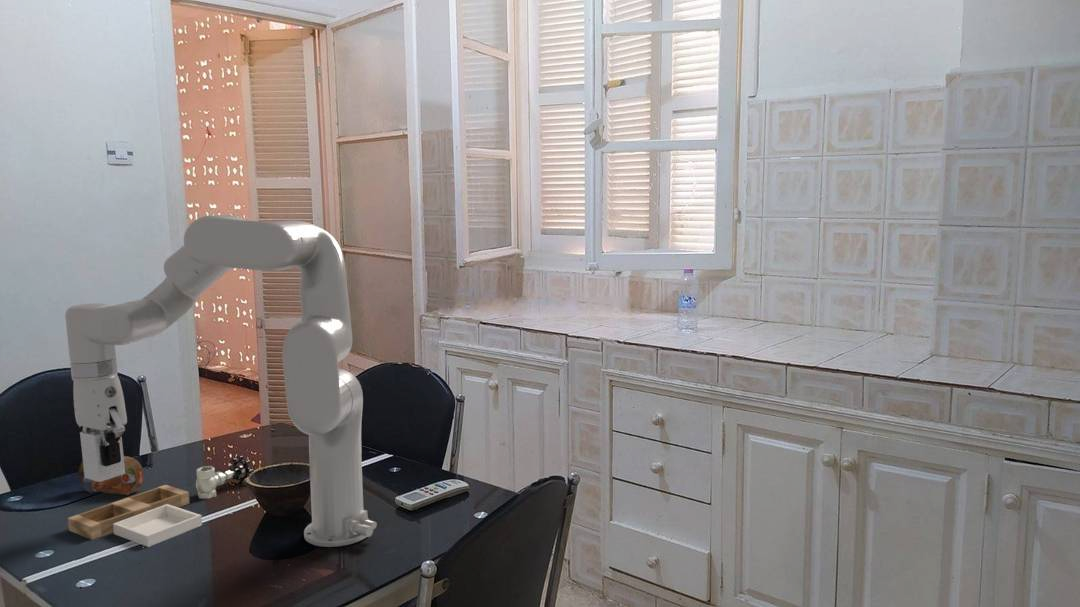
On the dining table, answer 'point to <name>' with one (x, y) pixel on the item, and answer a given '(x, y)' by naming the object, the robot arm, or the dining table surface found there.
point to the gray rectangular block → (98, 457)
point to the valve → (220, 477)
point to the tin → (117, 479)
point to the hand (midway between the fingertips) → (103, 460)
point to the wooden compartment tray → (125, 510)
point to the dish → (157, 525)
